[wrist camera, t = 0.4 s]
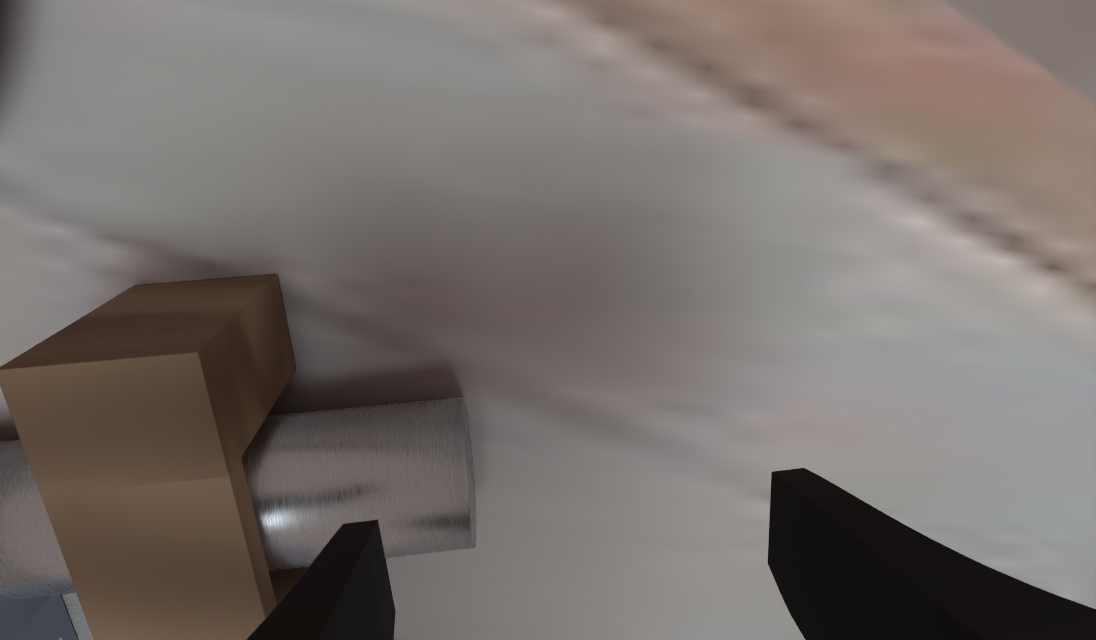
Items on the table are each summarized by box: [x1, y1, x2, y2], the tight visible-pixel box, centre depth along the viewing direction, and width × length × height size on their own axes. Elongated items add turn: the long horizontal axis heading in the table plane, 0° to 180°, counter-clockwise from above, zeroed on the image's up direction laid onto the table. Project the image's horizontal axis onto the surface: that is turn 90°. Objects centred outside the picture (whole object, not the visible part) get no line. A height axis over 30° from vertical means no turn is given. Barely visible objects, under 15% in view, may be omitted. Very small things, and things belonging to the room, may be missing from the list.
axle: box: [0, 397, 476, 601], centre depth 20 cm, size 4×16×4 cm, turn 93°
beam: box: [0, 274, 308, 640], centre depth 20 cm, size 18×4×6 cm, turn 3°
